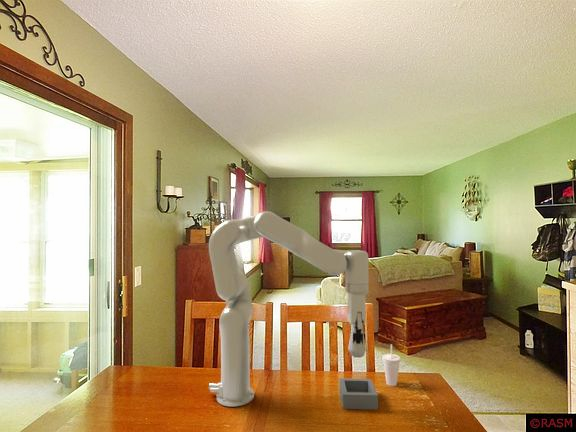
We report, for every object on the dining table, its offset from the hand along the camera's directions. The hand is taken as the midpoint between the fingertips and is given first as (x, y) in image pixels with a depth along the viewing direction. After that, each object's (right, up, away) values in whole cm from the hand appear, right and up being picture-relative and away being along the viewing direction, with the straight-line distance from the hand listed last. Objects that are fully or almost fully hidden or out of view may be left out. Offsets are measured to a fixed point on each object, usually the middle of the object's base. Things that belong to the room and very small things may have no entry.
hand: (357, 342), depth 115 cm
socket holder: (0, -19, 0) cm, 19 cm away
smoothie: (+15, -19, +11) cm, 27 cm away
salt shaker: (0, -4, 0) cm, 4 cm away
